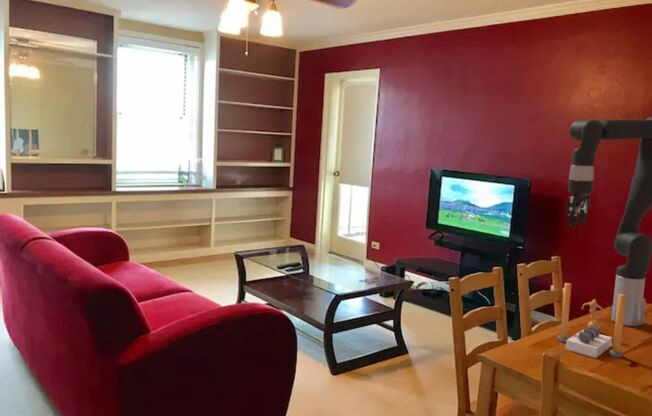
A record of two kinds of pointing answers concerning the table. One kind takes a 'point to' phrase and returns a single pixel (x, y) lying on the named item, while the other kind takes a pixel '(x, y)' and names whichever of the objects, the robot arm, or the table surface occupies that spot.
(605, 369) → the table surface
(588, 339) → the paddle
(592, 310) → the figurine
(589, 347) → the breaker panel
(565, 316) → the post
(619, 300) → the post
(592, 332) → the paddle mid
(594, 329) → the paddle
